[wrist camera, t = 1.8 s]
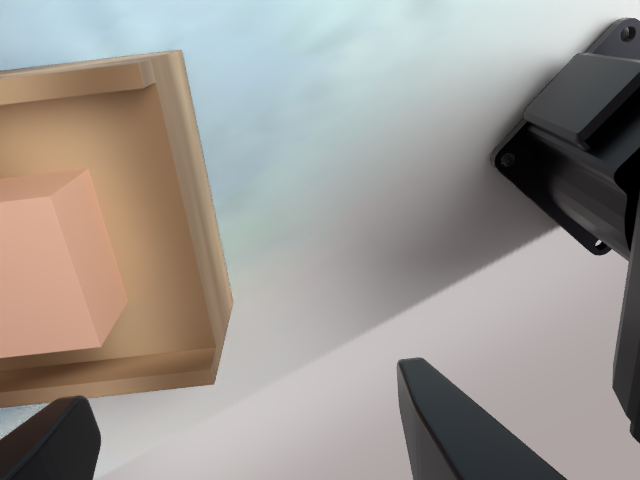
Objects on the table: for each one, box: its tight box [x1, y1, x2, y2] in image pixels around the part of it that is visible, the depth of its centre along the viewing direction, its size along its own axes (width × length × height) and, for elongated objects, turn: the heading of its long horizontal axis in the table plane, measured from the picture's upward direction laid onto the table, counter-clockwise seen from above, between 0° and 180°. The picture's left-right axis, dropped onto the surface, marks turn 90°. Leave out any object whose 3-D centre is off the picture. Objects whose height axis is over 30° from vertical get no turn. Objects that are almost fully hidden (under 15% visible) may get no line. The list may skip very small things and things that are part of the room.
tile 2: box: [0, 169, 128, 358], centre depth 15 cm, size 4×4×2 cm
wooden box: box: [0, 50, 233, 408], centre depth 17 cm, size 13×10×5 cm
